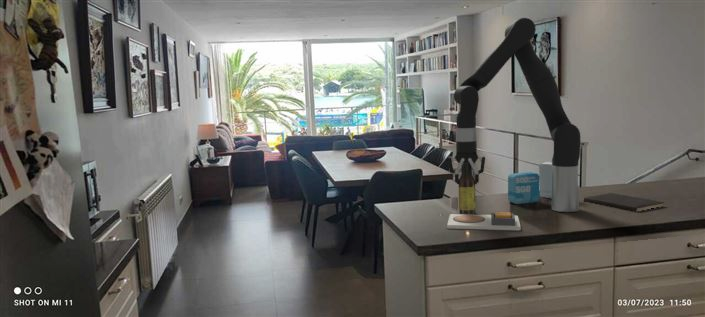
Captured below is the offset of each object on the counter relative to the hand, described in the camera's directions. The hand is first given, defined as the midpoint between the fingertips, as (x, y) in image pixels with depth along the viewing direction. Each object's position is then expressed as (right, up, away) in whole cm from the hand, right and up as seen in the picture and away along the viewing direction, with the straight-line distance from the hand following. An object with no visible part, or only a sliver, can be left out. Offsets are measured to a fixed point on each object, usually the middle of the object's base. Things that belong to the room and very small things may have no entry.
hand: (466, 183), depth 195 cm
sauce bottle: (+1, -12, +1) cm, 12 cm away
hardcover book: (+63, -9, +8) cm, 64 cm away
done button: (+8, -11, -18) cm, 23 cm away
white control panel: (+3, -13, -13) cm, 19 cm away
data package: (+28, -9, +18) cm, 34 cm away
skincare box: (+42, -7, +26) cm, 50 cm away
